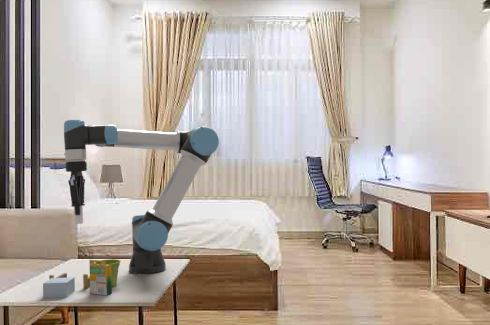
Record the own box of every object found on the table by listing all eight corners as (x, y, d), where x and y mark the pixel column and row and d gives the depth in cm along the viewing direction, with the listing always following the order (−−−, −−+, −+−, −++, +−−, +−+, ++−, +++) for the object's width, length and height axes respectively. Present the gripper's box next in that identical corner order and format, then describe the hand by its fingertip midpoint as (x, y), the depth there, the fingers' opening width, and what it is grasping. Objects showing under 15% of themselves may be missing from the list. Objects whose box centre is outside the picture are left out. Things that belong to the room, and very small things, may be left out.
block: (74, 291, 173) (74, 277, 173) (67, 297, 165) (67, 282, 165) (51, 292, 173) (51, 278, 173) (43, 298, 165) (42, 283, 165)
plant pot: (126, 283, 183) (125, 259, 183) (111, 289, 174) (111, 264, 174) (105, 281, 186) (104, 258, 186) (89, 287, 177) (88, 263, 178)
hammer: (99, 280, 189) (98, 267, 189) (87, 288, 176) (86, 274, 176) (63, 281, 190) (63, 268, 190) (48, 289, 176) (48, 275, 176)
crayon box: (112, 293, 168) (111, 259, 168) (106, 295, 165) (105, 260, 166) (95, 291, 171) (94, 258, 171) (89, 293, 169) (88, 259, 169)
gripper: (71, 161, 192) (74, 222, 192) (60, 161, 179) (63, 226, 179) (90, 160, 192) (93, 221, 192) (80, 160, 179) (84, 225, 179)
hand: (79, 223), depth 186 cm, fingers closed
